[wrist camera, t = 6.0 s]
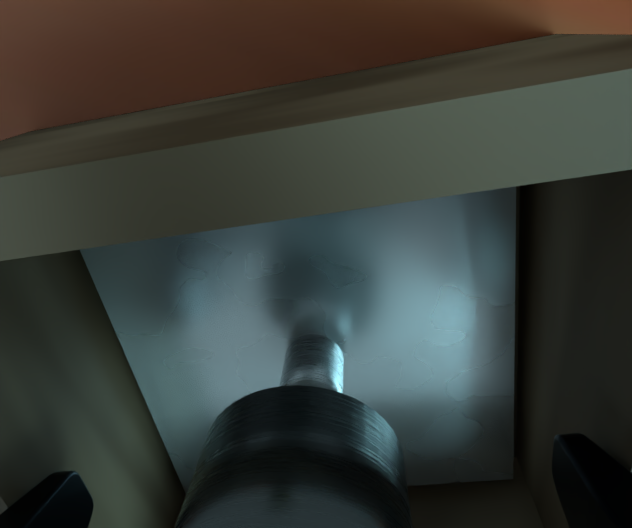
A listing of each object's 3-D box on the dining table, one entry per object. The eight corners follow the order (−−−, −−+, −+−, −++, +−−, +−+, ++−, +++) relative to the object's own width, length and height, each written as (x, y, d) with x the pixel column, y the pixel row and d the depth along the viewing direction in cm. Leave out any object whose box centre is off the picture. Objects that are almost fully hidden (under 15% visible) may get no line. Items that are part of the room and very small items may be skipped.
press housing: (556, 34, 10) (819, 36, 4) (538, 451, 15) (647, 692, 9) (30, 131, 11) (-263, 222, 6) (180, 476, 16) (97, 694, 11)
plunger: (503, 125, 9) (799, 302, 3) (504, 454, 13) (637, 815, 7) (80, 194, 10) (-290, 416, 4) (196, 476, 14) (84, 800, 8)
